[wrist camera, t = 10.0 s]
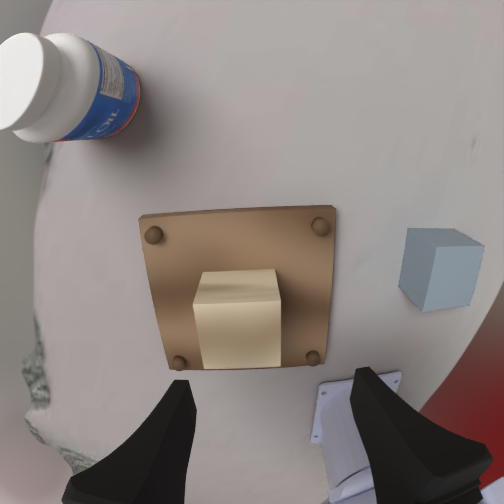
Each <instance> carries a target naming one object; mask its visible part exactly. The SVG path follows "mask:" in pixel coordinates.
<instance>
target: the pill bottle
mask: <svg viewBox="0 0 504 504" xmlns="http://www.w3.org/2000/svg"><path fill="white" fill-rule="evenodd" d="M139 100H140V84H139V80H138V77H137V75H136V73H135V72H134V70H133V69H132V68H131V67H130V66H129V65H127V64H126V63H125V62H123V61H122V60H120V59H118V58H117V57H115V56H113V55H112V54H110V53H108V52H106V51H105V50H103V49H101V48H99V47H98V46H96V45H94V44H92V43H91V42H89V41H87V40H85V39H83V38H81V37H79V36H76V35H73V34H69V33H56V34H51V35H48V36H45V37H41V36H38V35H35V34H31V33H21V34H17V35H14V36H12V37H10V38H9V39H7V40H6V41H5V42H4V43H3V44H1V45H0V130H11V131H13V132H14V133H15V134H16V135H17V136H18V137H19V138H21V139H23V140H25V141H28V142H33V143H49V142H59V141H72V140H89V139H101V138H106V137H109V136H112V135H114V134H116V133H118V132H119V131H121V130H122V129H123V128H124V127H125V126H126V125H127V124H128V123H129V122H130V120H131V119H132V117H133V116H134V114H135V112H136V110H137V107H138V104H139Z"/></svg>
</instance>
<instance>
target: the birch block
mask: <svg viewBox="0 0 504 504" xmlns="http://www.w3.org/2000/svg"><path fill="white" fill-rule="evenodd" d="M193 309H194V315H195V321H196V327H197V333H198V339H199V344H200V350H201V355H202V361H203V366H204V369H234V368H261V367H278V366H281V299H280V293H279V288H278V283H277V278H276V273H275V269H262V270H241V271H219V272H203V273H202V276H201V280H200V283H199V286H198V289H197V292H196V295H195V299H194V302H193Z"/></svg>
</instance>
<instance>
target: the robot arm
mask: <svg viewBox="0 0 504 504" xmlns="http://www.w3.org/2000/svg"><path fill="white" fill-rule="evenodd" d="M401 378H402V374H401V372H400V371H397V372H392V373H387V374H381V375H377V374H376V373H375V372H374V371H373V370H372V369H371V368H370V367H363V368H357V369H356V371H355V376H354V379H351V380H344V381H336V382H328V383H322V384H321V385H320V386H319V387H318V395H317V401H316V408H315V415H314V421H313V427H312V433H311V439H310V440H311V443H313V444H316V443H321V448H322V453H323V458H324V463H325V468H326V473H327V478H328V483H329V486H330V488H331V490H329V491H328V495H329V501H328V502H326V503H324V504H504V477H501V478H500V479H498V480H496V481H495V482H493V483H491V484H490V485H488V486H486V487H485V488H483V489H482V490H481V491H480V490H479V488H478V486H479V485H480V484H481V483H480V480H479V477H480V476H481V475H482V474H483V473H484V472H485V471H486V470H487V469H488V467H489V466H490V465H491V463H492V461H493V457H492V455H491V454H490V452H489V450H488V448H487V447H486V445H485V444H482V443H479V442H476V441H473V440H470V439H467V438H464V437H462V436H459V435H457V434H454V433H452V432H450V431H448V430H446V429H444V428H442V427H441V426H439V425H437V424H435V423H433V422H432V421H430V420H429V419H427V418H426V417H424V416H423V415H421V414H420V413H418V412H417V411H416V410H414V409H413V408H412V407H411V406H410V405H408V404H407V403H406V402H405V401H404V400H402V399H401V398H400V397H399V396H398V395H397V394H396V392H397V390H398V387H399V384H400V381H401ZM324 391H325V392H324ZM196 413H197V409H196V406H195V402H194V399H193V395H192V391H191V388H190V384H189V380H174V381H173V382H172V384H171V385H170V387H169V388H168V390H167V391H166V393H165V394H164V396H163V397H162V399H161V400H160V402H159V403H158V404H157V406H156V407H155V408H154V410H153V411H152V412H151V414H150V415H149V416H148V417H147V419H146V420H145V421H144V422H143V423H142V424H141V426H140V427H139V428H138V429H137V430H136V431H135V432H134V433H133V434H132V435H131V436H130V437H129V438H128V439H127V440H126V441H125V442H124V443H123V444H122V445H120V446H119V447H118V448H117V449H116V450H115V451H113V452H112V453H111V454H109V455H108V456H107V457H105V458H104V459H102V460H101V461H99V462H98V463H96V464H95V465H93V466H92V467H90V468H88V469H86V470H84V471H82V472H80V473H78V474H76V475H74V476H72V477H71V478H70V480H69V482H68V484H67V486H66V489H65V492H64V495H63V497H62V502H63V504H184V497H185V482H186V473H187V467H188V462H189V458H190V453H191V448H192V443H193V438H194V433H195V426H196Z"/></svg>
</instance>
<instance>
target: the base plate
mask: <svg viewBox="0 0 504 504" xmlns="http://www.w3.org/2000/svg"><path fill="white" fill-rule="evenodd" d="M335 210H336V209H335V208H334V207H333V206H332V205H312V206H281V207H257V208H236V209H219V210H203V211H188V212H174V213H161V214H149V215H143V216H141V217H140V218H139V219H138V221H139V228H140V234H141V241H142V247H143V253H144V258H145V264H146V269H147V275H148V280H149V285H150V290H151V295H152V299H153V304H154V308H155V313H156V317H157V322H158V326H159V330H160V334H161V338H162V342H163V346H164V350H165V354H166V358H167V361H168V365H169V369H171V370H176V371H182V370H243V369H266V368H282V367H296V366H307V365H309V366H316V365H318V364H324V360H325V352H326V343H327V334H328V324H329V314H330V302H331V290H332V276H333V260H334V240H335ZM262 269H275V273H276V278H277V283H278V288H279V293H280V299H281V366H278V367H261V368H234V369H204V366H203V361H202V355H201V350H200V344H199V339H198V333H197V327H196V321H195V315H194V309H193V302H194V299H195V295H196V292H197V289H198V286H199V283H200V280H201V276H202V273H203V272H219V271H241V270H262Z"/></svg>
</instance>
